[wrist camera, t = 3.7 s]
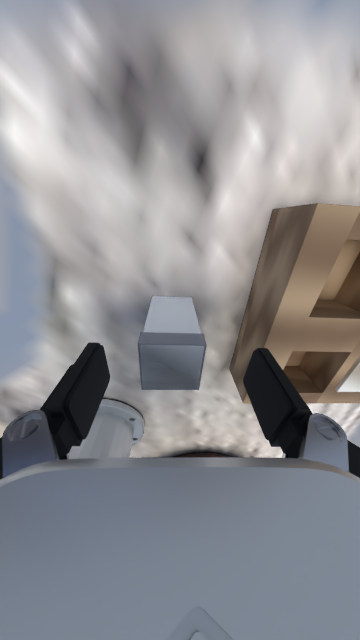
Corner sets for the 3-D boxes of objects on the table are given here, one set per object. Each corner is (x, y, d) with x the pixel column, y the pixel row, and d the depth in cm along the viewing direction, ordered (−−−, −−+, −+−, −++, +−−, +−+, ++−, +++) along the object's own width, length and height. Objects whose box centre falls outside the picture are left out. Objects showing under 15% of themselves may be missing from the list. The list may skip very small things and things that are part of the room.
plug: (189, 330, 20) (198, 389, 13) (152, 329, 19) (141, 389, 12) (192, 296, 18) (206, 344, 11) (151, 294, 17) (138, 343, 10)
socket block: (328, 370, 24) (365, 405, 19) (229, 369, 23) (244, 405, 18) (427, 220, 15) (540, 219, 10) (272, 209, 14) (322, 202, 10)
